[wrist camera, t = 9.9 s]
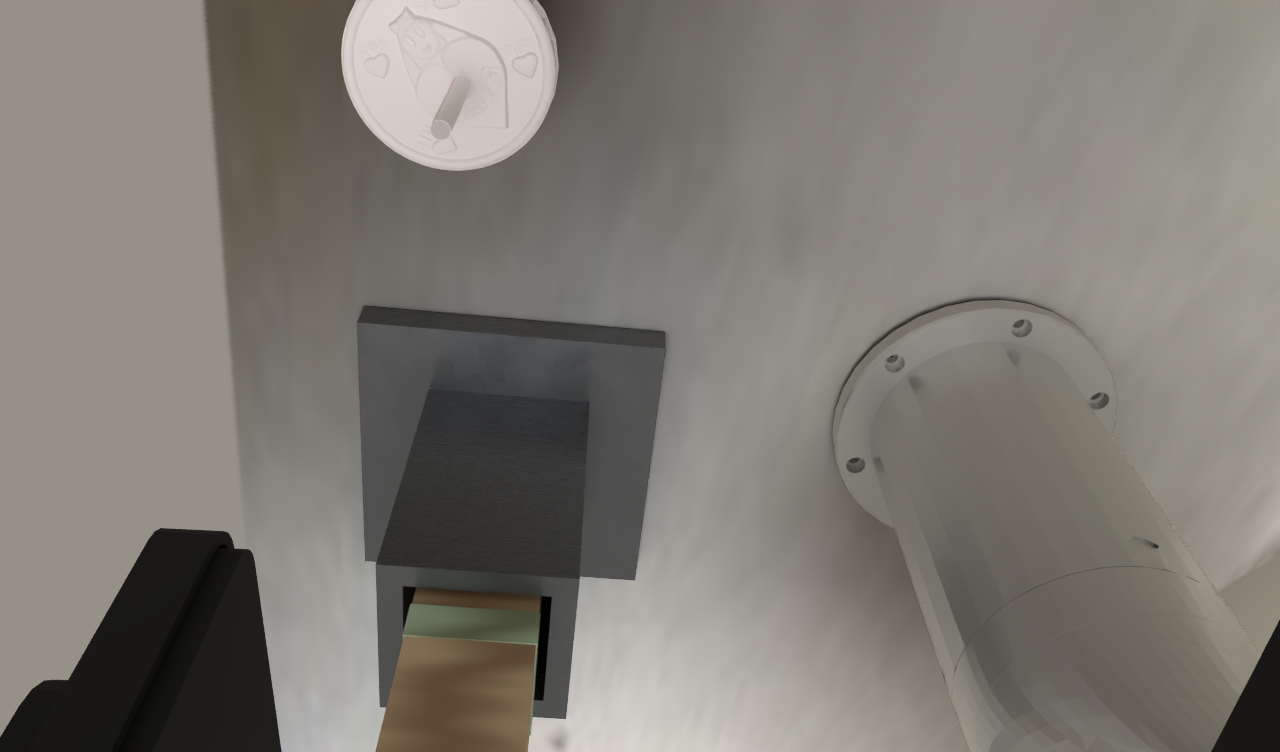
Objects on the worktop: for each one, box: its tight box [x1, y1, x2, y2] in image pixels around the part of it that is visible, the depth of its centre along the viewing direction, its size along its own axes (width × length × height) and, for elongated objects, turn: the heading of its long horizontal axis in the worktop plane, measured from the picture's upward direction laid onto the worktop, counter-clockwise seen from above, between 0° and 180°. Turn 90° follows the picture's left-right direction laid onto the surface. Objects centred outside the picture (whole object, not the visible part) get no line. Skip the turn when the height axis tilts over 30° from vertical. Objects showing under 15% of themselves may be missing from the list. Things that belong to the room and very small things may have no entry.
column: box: [376, 587, 543, 752], centre depth 36 cm, size 4×4×18 cm
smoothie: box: [341, 0, 559, 170], centre depth 34 cm, size 6×6×14 cm
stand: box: [357, 306, 665, 719], centre depth 45 cm, size 13×13×13 cm
